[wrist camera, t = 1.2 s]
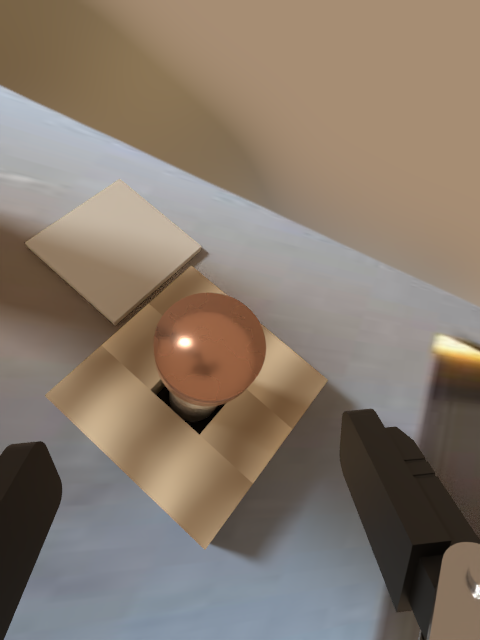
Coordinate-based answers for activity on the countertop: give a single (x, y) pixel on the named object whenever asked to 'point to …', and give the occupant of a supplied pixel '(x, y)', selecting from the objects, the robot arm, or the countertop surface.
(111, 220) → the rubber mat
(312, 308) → the countertop surface
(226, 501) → the bore block
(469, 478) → the countertop surface
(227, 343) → the copper-capped metal cylinder
